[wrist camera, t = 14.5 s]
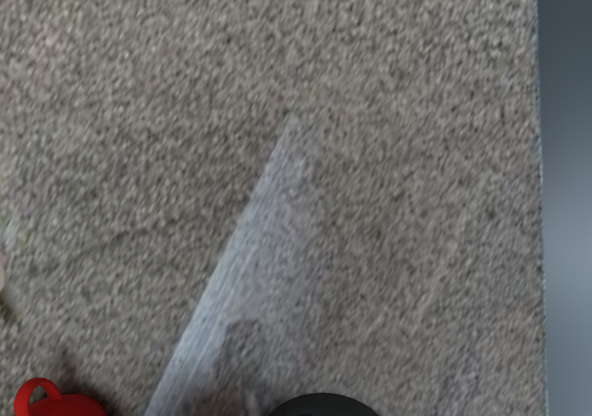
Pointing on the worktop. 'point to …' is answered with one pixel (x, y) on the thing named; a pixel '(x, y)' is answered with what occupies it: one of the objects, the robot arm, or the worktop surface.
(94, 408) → the ceramic cup
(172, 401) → the worktop surface
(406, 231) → the worktop surface
